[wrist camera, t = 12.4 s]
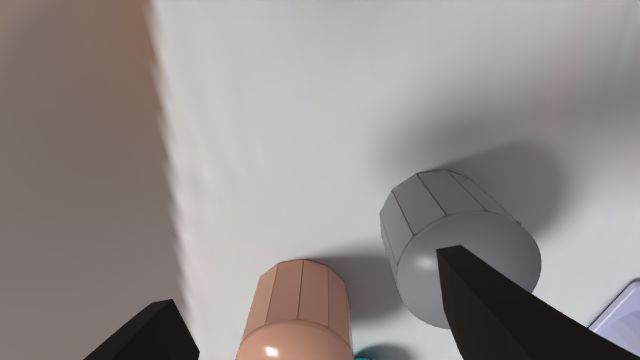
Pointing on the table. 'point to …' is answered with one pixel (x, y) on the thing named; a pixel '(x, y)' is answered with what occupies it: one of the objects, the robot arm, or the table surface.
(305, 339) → the peach domed cylinder
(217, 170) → the table surface
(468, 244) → the gray domed cylinder
